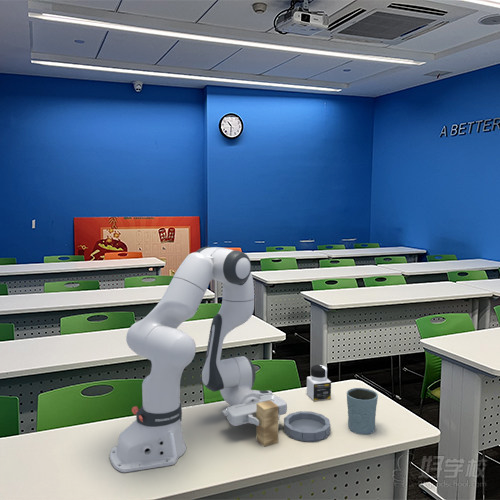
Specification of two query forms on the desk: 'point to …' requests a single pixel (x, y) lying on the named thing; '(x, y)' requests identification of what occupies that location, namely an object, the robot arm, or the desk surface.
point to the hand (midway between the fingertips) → (268, 421)
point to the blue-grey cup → (361, 410)
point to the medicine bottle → (318, 384)
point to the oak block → (267, 423)
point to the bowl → (307, 426)
